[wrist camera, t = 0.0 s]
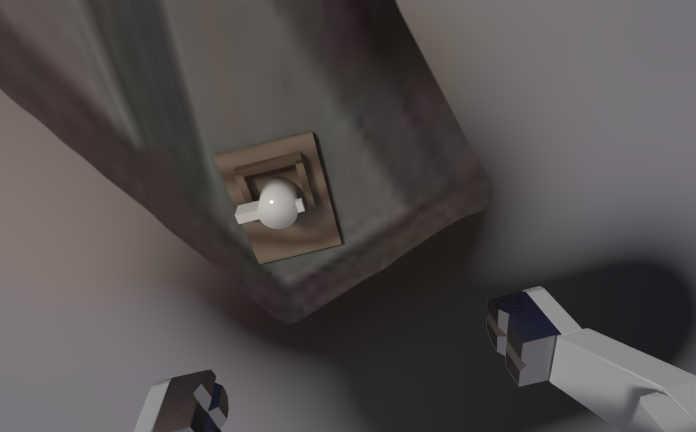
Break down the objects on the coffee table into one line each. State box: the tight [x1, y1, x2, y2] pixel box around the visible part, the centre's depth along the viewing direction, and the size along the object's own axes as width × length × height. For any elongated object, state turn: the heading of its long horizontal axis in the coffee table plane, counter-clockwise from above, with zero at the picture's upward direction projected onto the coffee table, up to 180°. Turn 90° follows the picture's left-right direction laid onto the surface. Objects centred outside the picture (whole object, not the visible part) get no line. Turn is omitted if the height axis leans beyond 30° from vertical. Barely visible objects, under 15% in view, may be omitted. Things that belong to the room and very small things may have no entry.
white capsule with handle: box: [235, 176, 305, 229], centre depth 55 cm, size 10×6×7 cm, turn 102°
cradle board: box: [213, 131, 341, 264], centre depth 59 cm, size 22×16×3 cm
